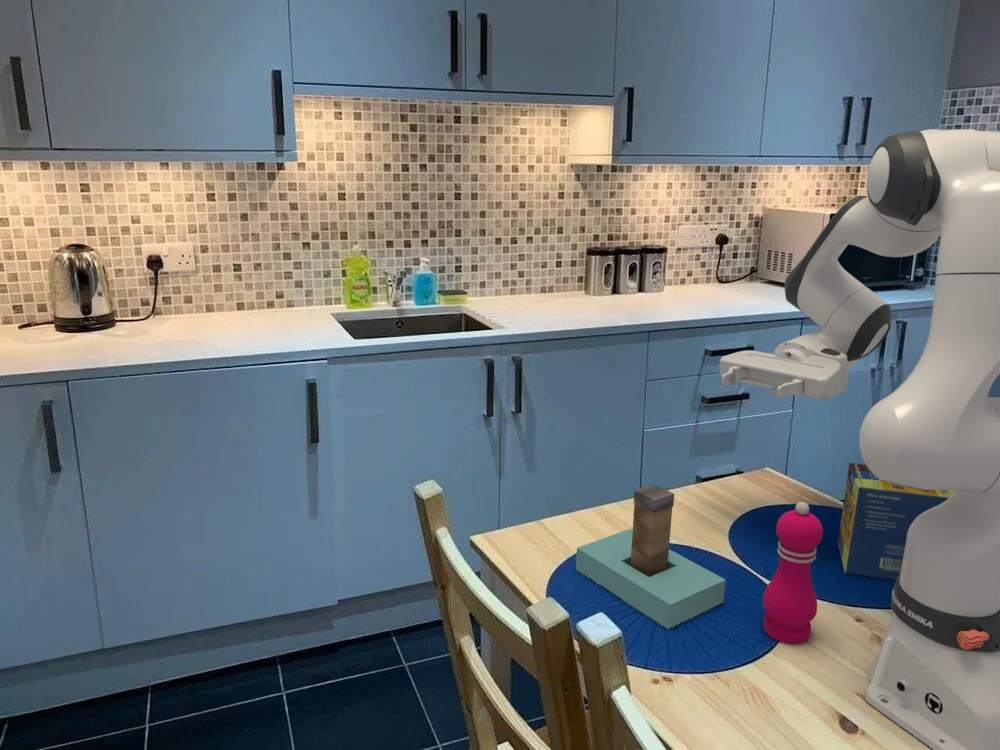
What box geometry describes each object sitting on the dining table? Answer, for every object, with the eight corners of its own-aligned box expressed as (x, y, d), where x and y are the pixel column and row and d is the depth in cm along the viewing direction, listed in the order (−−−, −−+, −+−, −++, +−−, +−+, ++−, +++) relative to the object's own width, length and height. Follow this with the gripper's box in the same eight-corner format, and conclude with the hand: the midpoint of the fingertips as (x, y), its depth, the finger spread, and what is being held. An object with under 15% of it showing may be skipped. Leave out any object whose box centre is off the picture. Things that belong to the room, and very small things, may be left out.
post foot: (723, 603, 121) (725, 579, 120) (668, 629, 114) (670, 604, 113) (629, 549, 136) (630, 528, 135) (575, 570, 130) (576, 547, 129)
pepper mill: (748, 623, 116) (763, 496, 110) (787, 612, 119) (804, 488, 113) (784, 651, 110) (801, 518, 104) (824, 639, 112) (843, 509, 107)
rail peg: (666, 588, 125) (674, 493, 120) (647, 596, 122) (654, 500, 118) (647, 576, 128) (653, 484, 124) (628, 584, 126) (634, 490, 121)
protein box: (836, 544, 139) (848, 461, 135) (933, 557, 136) (949, 472, 131) (843, 574, 130) (856, 486, 125) (948, 589, 126) (966, 498, 122)
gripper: (747, 337, 143) (697, 357, 135) (856, 356, 127) (807, 379, 120) (747, 371, 145) (698, 392, 137) (855, 393, 129) (806, 418, 122)
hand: (749, 386), depth 128 cm, fingers open, 8 cm apart
